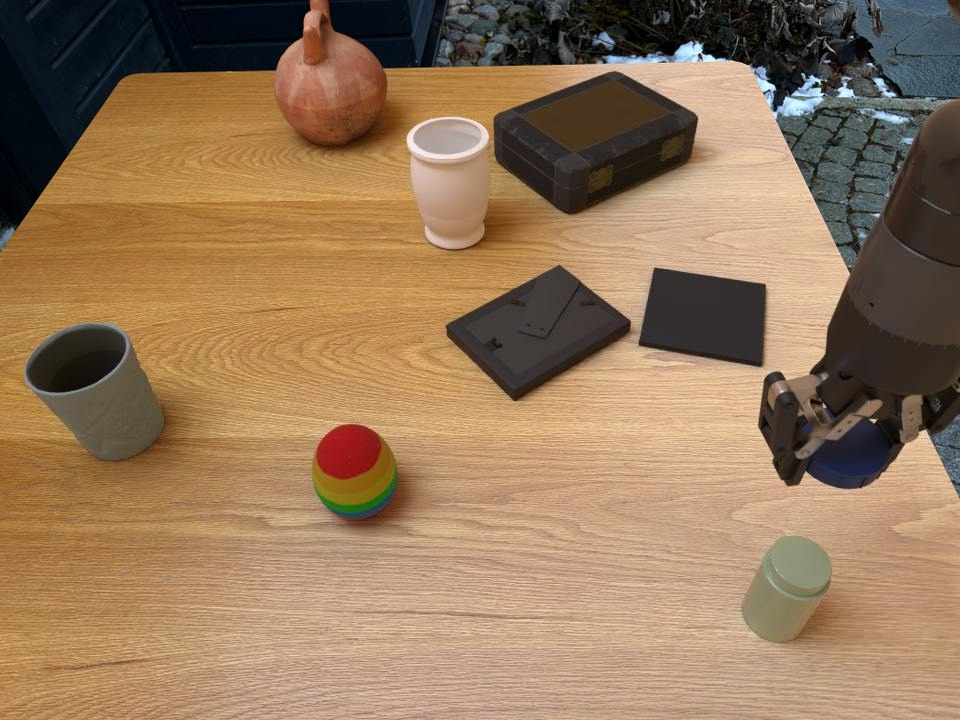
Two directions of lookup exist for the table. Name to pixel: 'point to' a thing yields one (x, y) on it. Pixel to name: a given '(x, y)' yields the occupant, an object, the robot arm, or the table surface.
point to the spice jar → (787, 588)
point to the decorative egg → (354, 471)
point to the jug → (329, 83)
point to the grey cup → (97, 389)
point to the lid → (850, 457)
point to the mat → (705, 316)
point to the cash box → (593, 139)
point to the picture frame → (537, 331)
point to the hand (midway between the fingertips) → (829, 468)
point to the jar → (450, 179)
